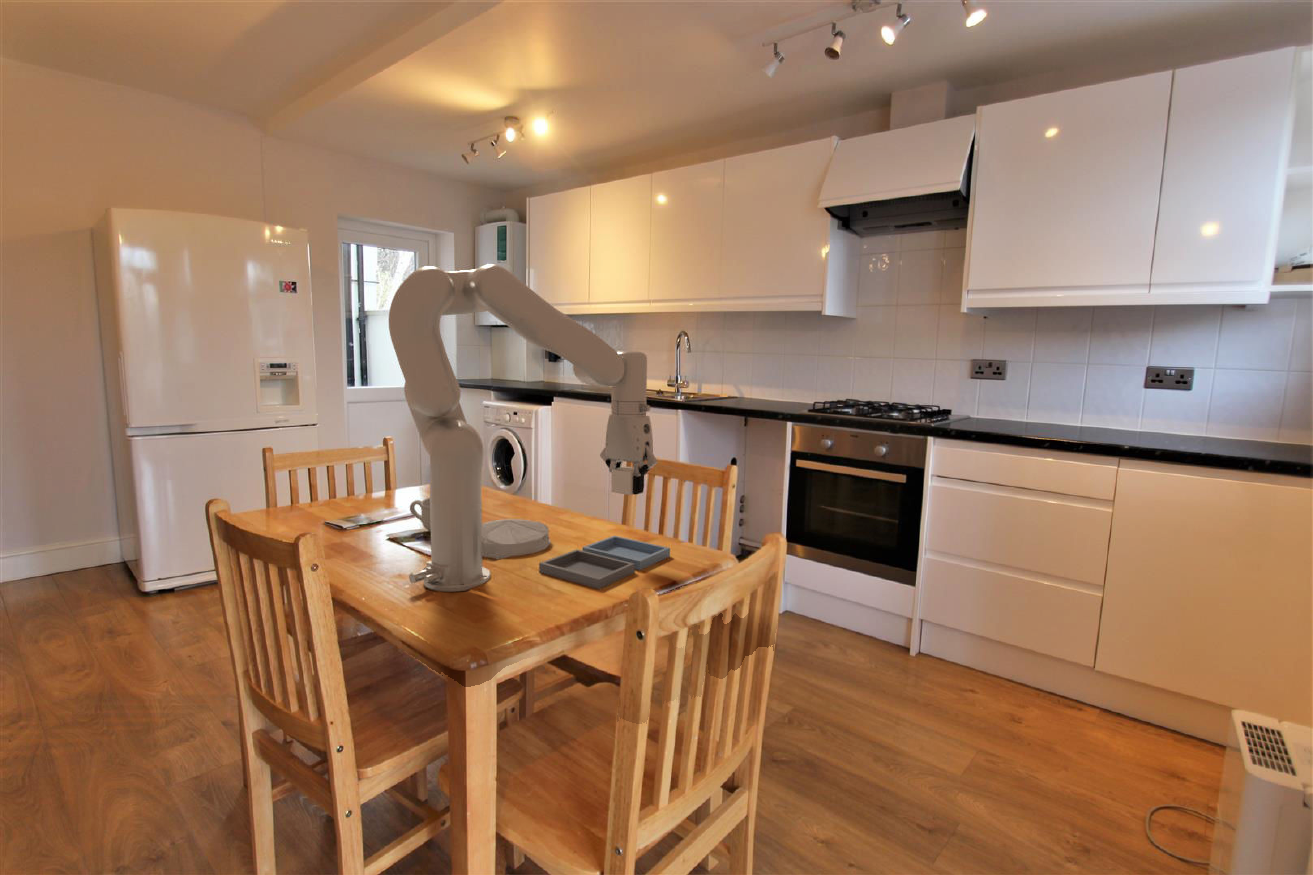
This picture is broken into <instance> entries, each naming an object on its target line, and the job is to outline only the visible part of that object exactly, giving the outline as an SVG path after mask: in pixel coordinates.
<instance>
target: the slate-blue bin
mask: <svg viewBox="0 0 1313 875" xmlns="http://www.w3.org/2000/svg"><path fill="white" fill-rule="evenodd" d="M582 551H586V552H590V553H594V554H598V555H602V556H606V557H610V558H614V559H618V560H622V561H626V562H630V563H634V564H635V570H637V571H642V570H644V569H646V568H649V567H650V566H652V565H655V564H657V563H658V562H661V561H663V560H665V559H667V558H670V556H671V547H668V546H663V545H658V544H654V543H650V542H646V541H640V540H635V539H631V538H628V537H622V536H618V535H612V536H609V537H607V538H604V539H601V540H598V541H596V542H592V543H590V544H587V545H585V546H582Z"/></svg>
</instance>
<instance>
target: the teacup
mask: <svg viewBox="0 0 1313 875" xmlns="http://www.w3.org/2000/svg"><path fill="white" fill-rule="evenodd" d="M416 505H418V506H420V510H421V513H419V512H417V510H416V508H415V507H416ZM409 511H410V513H411V514H412V516H413V517H415V518H416V519H417V520H419V521H420V522H421V523H422V526H423V528H424V529H425V530H427V531H429V532H430V533H431V520H430V497H428V498H426V499H423V500H419V499H416V500H413V501H412V502H411V503H410V505H409Z"/></svg>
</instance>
